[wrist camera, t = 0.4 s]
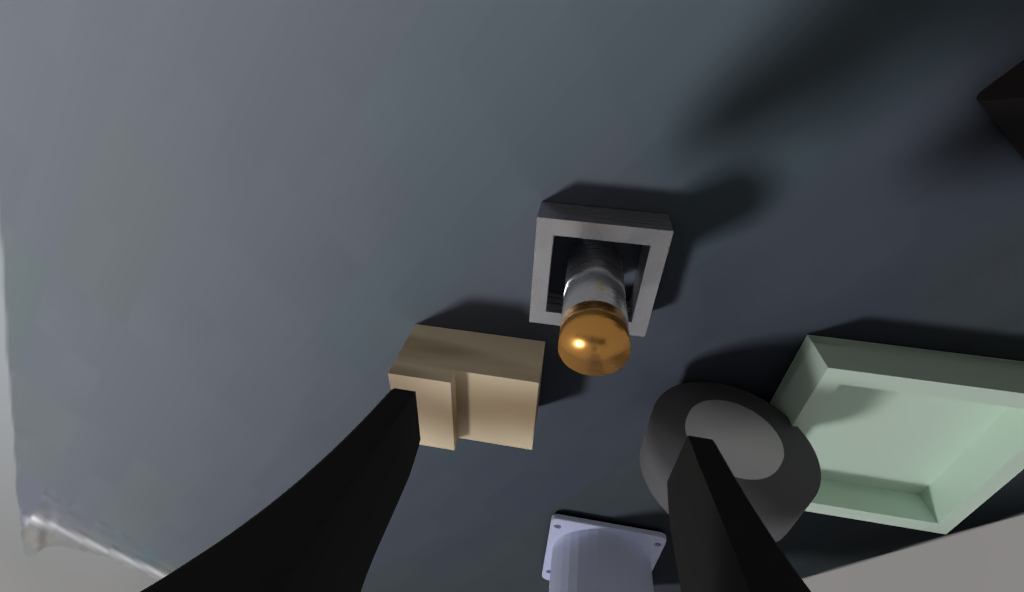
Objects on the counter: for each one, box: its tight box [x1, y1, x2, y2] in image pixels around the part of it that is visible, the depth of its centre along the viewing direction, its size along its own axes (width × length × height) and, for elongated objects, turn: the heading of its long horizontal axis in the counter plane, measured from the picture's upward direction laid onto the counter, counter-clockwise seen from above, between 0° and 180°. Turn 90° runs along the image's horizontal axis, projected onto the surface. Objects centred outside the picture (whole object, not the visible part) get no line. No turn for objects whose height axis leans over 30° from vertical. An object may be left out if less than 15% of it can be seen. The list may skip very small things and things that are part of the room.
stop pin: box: [558, 239, 630, 376], centre depth 17 cm, size 2×2×6 cm
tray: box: [770, 334, 1024, 534], centre depth 21 cm, size 10×10×2 cm
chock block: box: [388, 324, 545, 450], centre depth 23 cm, size 5×7×4 cm
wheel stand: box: [640, 382, 821, 542], centre depth 21 cm, size 5×7×7 cm
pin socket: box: [529, 202, 674, 337], centre depth 19 cm, size 5×5×2 cm
